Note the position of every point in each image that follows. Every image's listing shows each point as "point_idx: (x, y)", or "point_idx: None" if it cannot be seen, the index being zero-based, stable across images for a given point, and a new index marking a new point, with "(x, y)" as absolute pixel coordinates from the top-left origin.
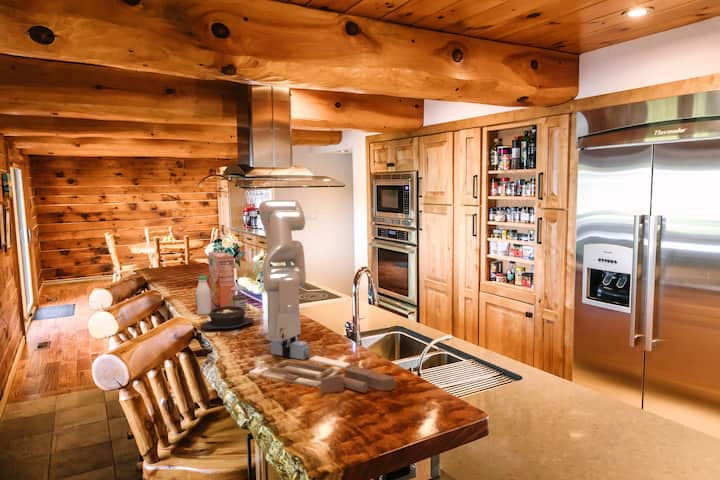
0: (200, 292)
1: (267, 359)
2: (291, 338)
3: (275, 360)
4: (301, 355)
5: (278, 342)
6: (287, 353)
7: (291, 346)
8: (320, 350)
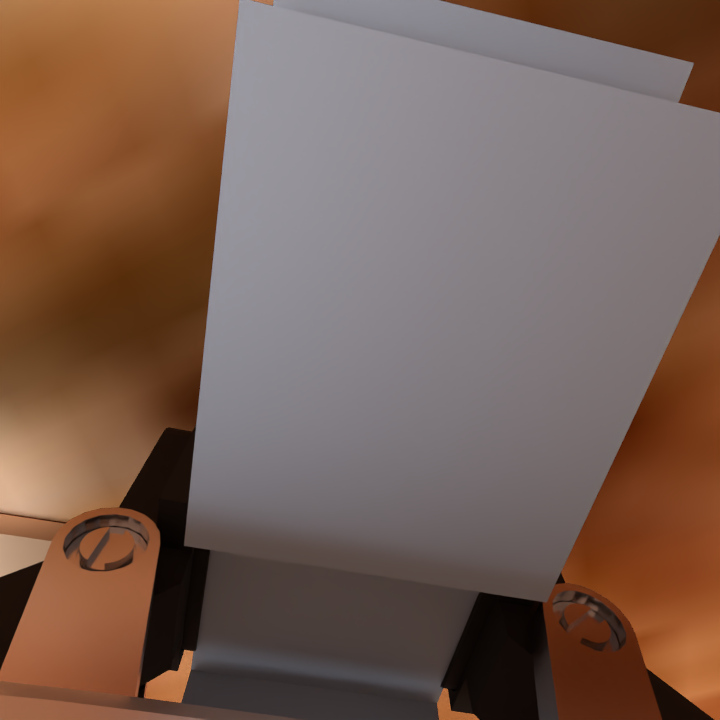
0: None
1: (26, 89)
2: (548, 705)
3: (51, 285)
4: None
5: (212, 383)
6: None
7: None
8: None
